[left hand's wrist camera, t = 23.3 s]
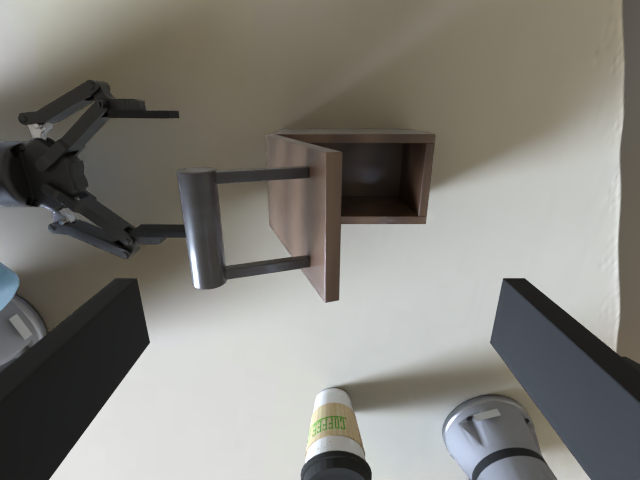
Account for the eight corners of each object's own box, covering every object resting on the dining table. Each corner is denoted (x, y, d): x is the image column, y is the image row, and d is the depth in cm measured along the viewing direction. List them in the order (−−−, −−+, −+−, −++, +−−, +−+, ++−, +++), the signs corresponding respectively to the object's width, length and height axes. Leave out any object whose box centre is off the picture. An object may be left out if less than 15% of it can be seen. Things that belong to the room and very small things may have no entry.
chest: (409, 129, 45) (435, 134, 35) (403, 200, 48) (425, 224, 38) (281, 128, 45) (270, 134, 35) (284, 200, 48) (274, 224, 38)
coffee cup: (312, 374, 58) (310, 457, 44) (368, 386, 59) (383, 471, 45) (298, 417, 62) (292, 507, 48) (351, 428, 63) (361, 520, 48)
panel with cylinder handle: (342, 151, 19) (171, 158, 17) (339, 300, 23) (195, 327, 20) (275, 134, 34) (179, 136, 32) (278, 225, 38) (192, 234, 35)
